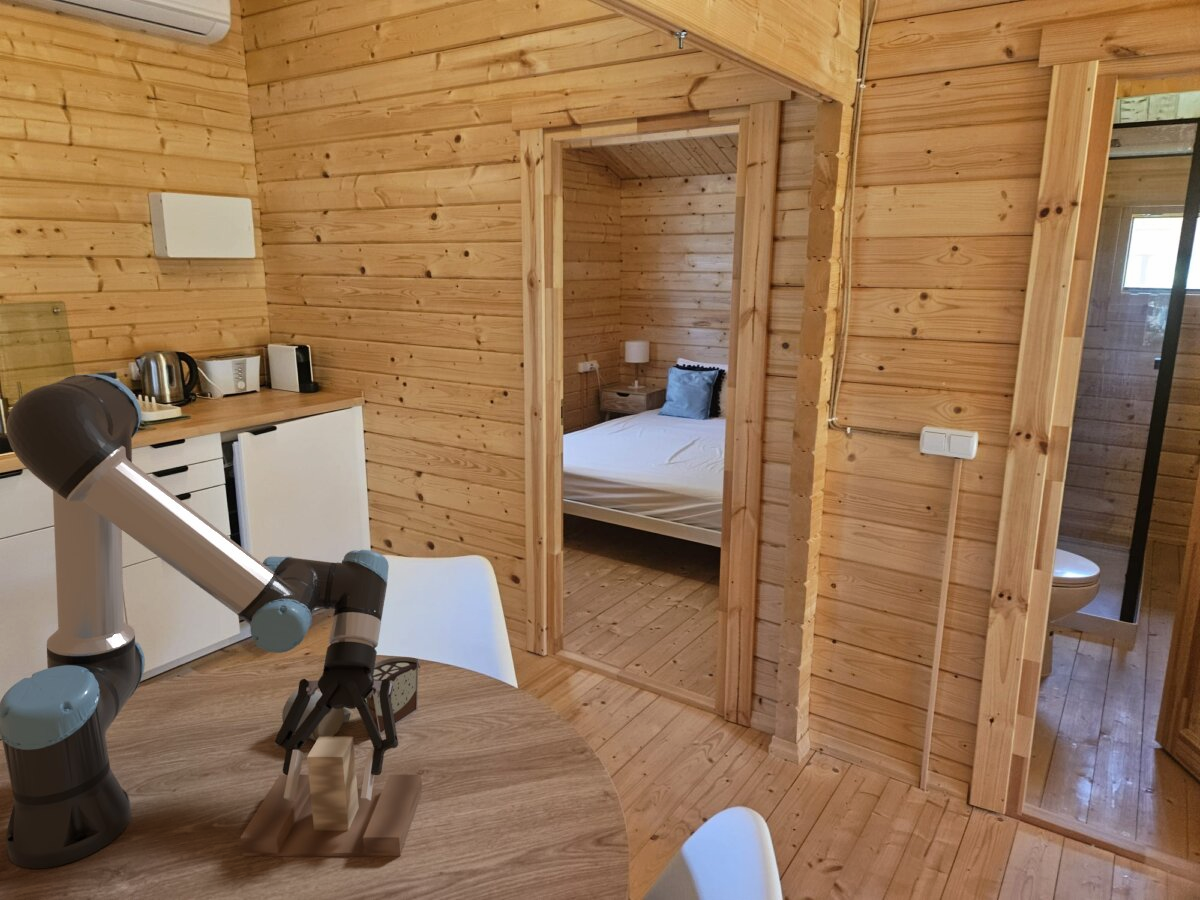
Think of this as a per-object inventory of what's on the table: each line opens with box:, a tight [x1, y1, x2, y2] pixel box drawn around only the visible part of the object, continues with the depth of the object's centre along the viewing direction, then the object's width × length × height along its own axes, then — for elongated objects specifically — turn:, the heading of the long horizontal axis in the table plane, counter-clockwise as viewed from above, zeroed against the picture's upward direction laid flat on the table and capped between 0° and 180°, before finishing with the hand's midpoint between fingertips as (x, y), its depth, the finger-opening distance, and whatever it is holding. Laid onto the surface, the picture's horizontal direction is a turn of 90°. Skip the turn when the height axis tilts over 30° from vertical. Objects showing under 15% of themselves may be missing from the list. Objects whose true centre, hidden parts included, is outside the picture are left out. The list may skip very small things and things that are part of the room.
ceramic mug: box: [281, 689, 352, 741], centre depth 142 cm, size 11×8×8 cm
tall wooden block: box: [306, 736, 359, 830], centre depth 118 cm, size 5×5×12 cm
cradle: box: [240, 774, 423, 857], centre depth 119 cm, size 22×14×3 cm, turn 90°
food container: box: [365, 656, 421, 735], centre depth 145 cm, size 12×6×10 cm, turn 149°
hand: (327, 799), depth 115 cm, fingers open, 10 cm apart
